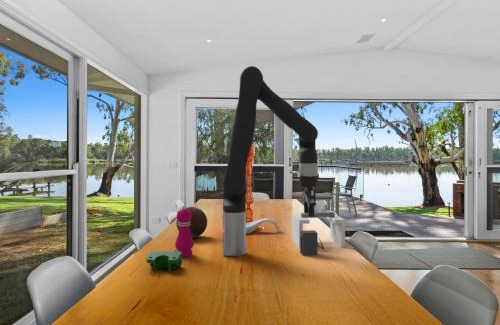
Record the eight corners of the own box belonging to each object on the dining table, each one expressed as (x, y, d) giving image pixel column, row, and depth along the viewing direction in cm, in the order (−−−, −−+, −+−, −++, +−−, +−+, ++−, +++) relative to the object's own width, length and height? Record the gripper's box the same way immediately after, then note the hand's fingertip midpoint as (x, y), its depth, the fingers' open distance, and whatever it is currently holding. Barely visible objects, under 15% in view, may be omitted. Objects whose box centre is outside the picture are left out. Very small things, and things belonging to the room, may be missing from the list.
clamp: (153, 283, 135) (140, 261, 133) (158, 273, 141) (146, 252, 139) (183, 271, 133) (171, 249, 131) (187, 262, 139) (175, 241, 137)
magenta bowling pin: (197, 254, 157) (196, 204, 157) (186, 258, 151) (186, 207, 150) (182, 252, 160) (181, 204, 160) (171, 256, 154) (171, 206, 153)
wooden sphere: (211, 235, 195) (210, 205, 195) (202, 241, 181) (202, 209, 180) (182, 234, 198) (182, 204, 198) (171, 240, 183) (171, 208, 183)
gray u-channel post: (302, 255, 155) (302, 233, 155) (300, 252, 160) (300, 230, 160) (317, 255, 155) (317, 232, 155) (314, 252, 160) (314, 230, 160)
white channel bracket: (299, 248, 167) (299, 215, 167) (292, 239, 185) (292, 209, 185) (344, 247, 168) (345, 215, 168) (333, 238, 186) (333, 209, 186)
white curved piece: (233, 235, 196) (233, 221, 196) (233, 230, 208) (233, 217, 208) (280, 234, 198) (280, 220, 198) (277, 230, 210) (277, 216, 209)
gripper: (296, 174, 164) (296, 212, 164) (302, 175, 150) (303, 217, 150) (313, 173, 164) (314, 212, 164) (322, 175, 150) (322, 217, 150)
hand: (308, 214), depth 157 cm, fingers open, 8 cm apart
